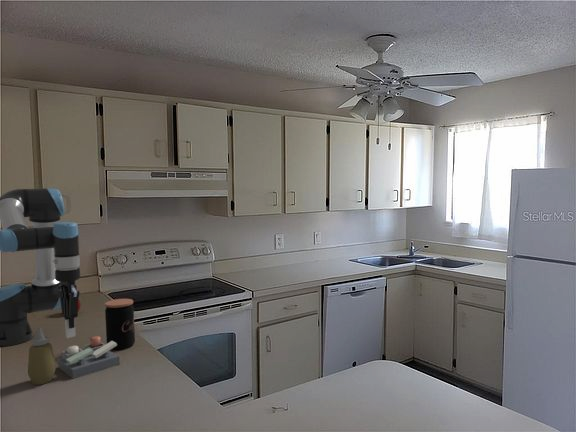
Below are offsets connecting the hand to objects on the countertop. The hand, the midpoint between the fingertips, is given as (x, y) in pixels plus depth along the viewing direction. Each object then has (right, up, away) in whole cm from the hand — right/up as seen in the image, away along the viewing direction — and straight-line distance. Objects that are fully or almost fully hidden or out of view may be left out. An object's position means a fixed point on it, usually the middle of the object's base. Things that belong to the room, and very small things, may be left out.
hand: (70, 336), depth 149 cm
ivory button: (-3, -9, +7) cm, 12 cm away
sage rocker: (+2, -8, +2) cm, 9 cm away
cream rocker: (+8, -8, +8) cm, 14 cm away
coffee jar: (+7, -12, +28) cm, 31 cm away
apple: (-37, -9, +76) cm, 85 cm away
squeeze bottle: (-7, -14, -4) cm, 16 cm away
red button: (+3, -7, +13) cm, 15 cm away
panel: (+3, -13, +8) cm, 15 cm away
